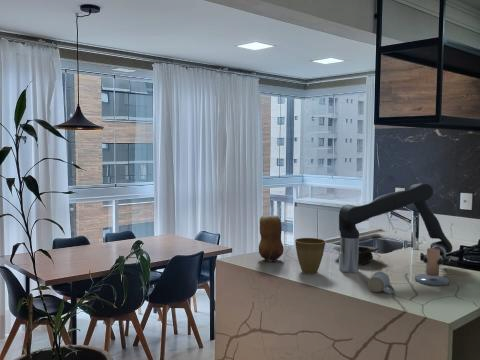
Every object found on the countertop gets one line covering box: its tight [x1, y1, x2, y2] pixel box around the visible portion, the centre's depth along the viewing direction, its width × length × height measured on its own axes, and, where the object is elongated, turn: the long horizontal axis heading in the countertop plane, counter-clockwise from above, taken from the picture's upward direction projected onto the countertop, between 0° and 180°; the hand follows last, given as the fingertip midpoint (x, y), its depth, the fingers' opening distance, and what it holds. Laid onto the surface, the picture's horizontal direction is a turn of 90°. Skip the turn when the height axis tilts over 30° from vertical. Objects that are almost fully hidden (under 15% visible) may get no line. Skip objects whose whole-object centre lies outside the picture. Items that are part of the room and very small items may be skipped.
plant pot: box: [294, 237, 326, 275], centre depth 233 cm, size 15×15×16 cm
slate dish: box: [414, 273, 450, 287], centre depth 221 cm, size 15×15×1 cm
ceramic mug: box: [367, 271, 395, 295], centre depth 205 cm, size 11×8×8 cm
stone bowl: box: [332, 245, 380, 266], centre depth 258 cm, size 25×25×9 cm
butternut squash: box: [258, 214, 284, 262], centre depth 254 cm, size 14×13×25 cm
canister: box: [425, 247, 440, 276], centre depth 221 cm, size 6×6×12 cm
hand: (432, 261), depth 219 cm, fingers closed on canister, 5 cm apart
